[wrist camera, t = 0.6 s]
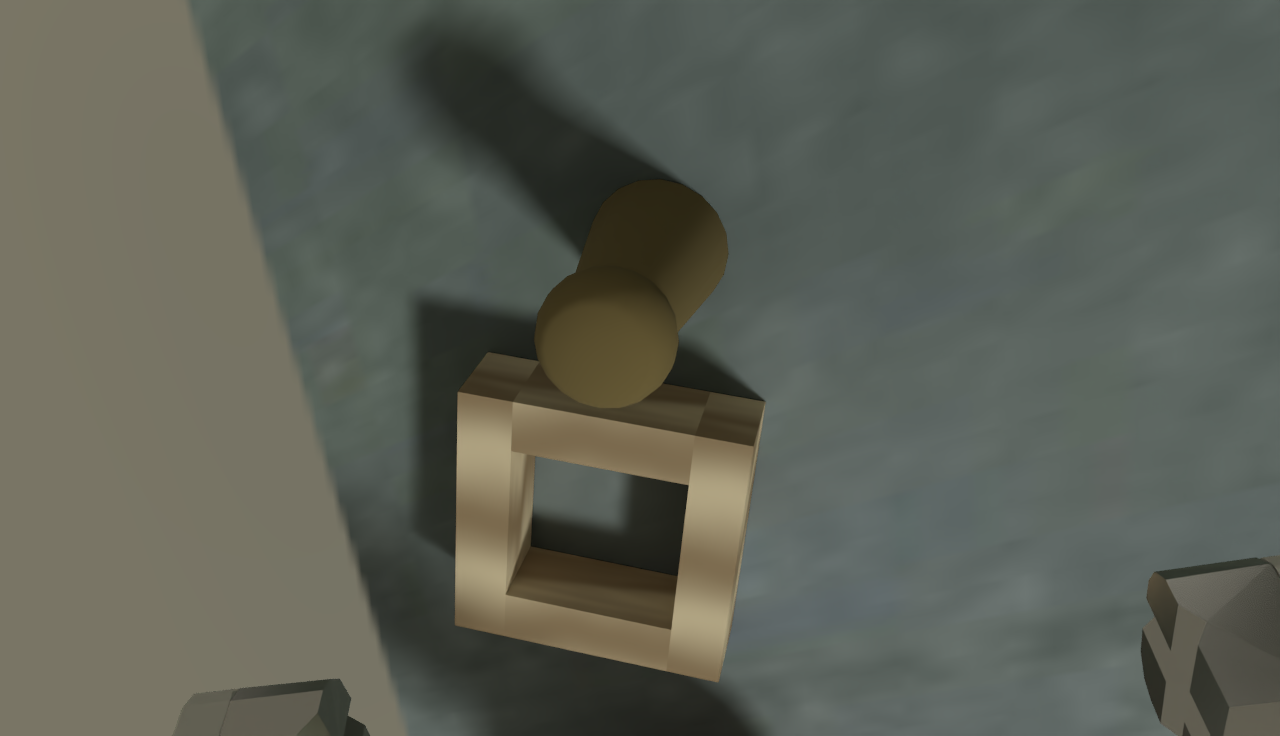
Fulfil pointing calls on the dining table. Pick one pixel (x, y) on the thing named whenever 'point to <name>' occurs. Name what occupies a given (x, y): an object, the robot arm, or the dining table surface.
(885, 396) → the dining table surface
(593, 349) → the cork
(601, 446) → the socket block
